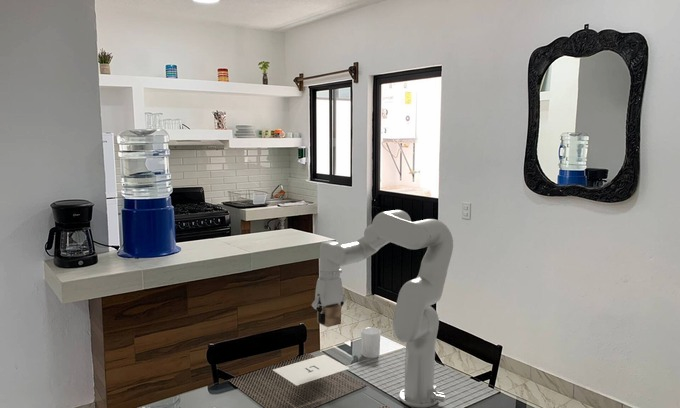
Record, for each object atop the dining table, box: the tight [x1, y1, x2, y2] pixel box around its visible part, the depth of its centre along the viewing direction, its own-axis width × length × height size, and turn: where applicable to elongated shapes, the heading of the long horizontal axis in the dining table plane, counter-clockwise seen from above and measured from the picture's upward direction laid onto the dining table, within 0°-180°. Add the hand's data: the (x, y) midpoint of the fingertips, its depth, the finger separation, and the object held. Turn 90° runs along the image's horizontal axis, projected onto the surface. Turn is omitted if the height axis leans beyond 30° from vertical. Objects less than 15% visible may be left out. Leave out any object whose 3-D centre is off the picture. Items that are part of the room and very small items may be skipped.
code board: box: [272, 354, 350, 387], centre depth 194 cm, size 24×16×1 cm, turn 129°
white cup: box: [360, 326, 382, 359], centre depth 209 cm, size 8×8×10 cm
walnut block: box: [316, 304, 342, 328], centre depth 197 cm, size 6×6×7 cm
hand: (329, 320), depth 197 cm, fingers closed on walnut block, 6 cm apart
